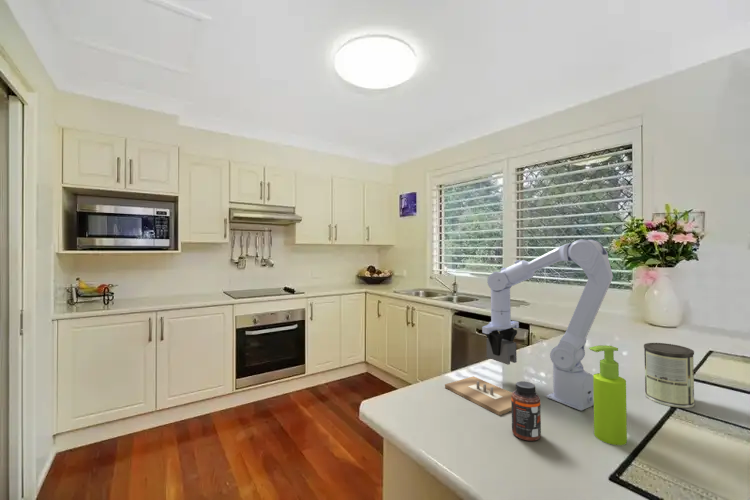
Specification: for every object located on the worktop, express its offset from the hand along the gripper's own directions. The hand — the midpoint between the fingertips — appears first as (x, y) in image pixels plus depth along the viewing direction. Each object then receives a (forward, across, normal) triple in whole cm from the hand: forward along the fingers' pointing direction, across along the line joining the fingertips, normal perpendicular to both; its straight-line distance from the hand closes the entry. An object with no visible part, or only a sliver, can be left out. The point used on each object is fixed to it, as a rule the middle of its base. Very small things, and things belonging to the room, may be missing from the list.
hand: (501, 353), depth 105 cm
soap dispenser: (+9, +6, +33) cm, 35 cm away
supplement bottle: (+9, +20, +23) cm, 32 cm away
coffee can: (+9, -28, +32) cm, 43 cm away
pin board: (+9, +12, +4) cm, 15 cm away
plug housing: (+2, 0, 0) cm, 2 cm away
